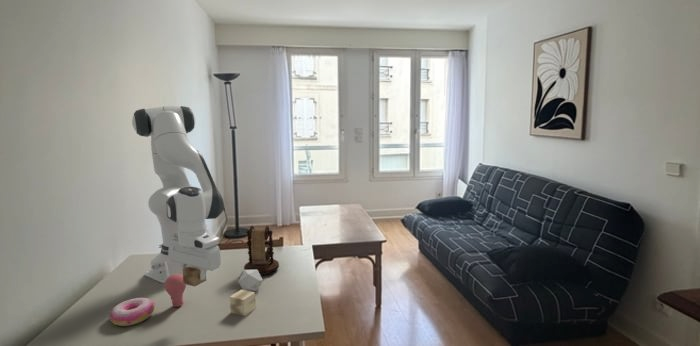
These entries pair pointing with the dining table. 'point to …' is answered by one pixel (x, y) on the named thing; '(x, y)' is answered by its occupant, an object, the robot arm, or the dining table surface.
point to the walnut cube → (192, 276)
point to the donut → (132, 311)
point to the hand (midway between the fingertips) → (194, 277)
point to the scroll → (260, 251)
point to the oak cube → (242, 302)
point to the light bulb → (175, 289)
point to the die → (250, 280)
